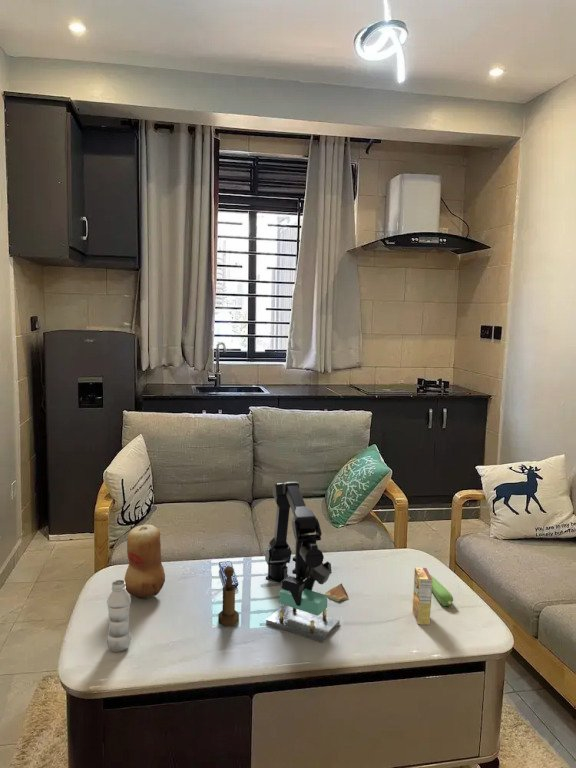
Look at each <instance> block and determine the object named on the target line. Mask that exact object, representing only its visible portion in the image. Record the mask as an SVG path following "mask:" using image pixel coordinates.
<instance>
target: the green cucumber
mask: <svg viewBox="0 0 576 768" xmlns="http://www.w3.org/2000/svg"><path fill="white" fill-rule="evenodd" d="M430 576H431V578H432V593H433V595H434V596H435V598H436V599H437V601H438V602H439V604H441V605H442V606H443V607H450V606H451V605H452V604H453V602H454V597H453V595H452V593H451V592H450V591H449V590H448V589H447V588H446V587H445V586H444V585H443V584H441V583H440V582H439V581H438V580H437V578H435V577H434V576H433V575H432V574H430Z"/></svg>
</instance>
